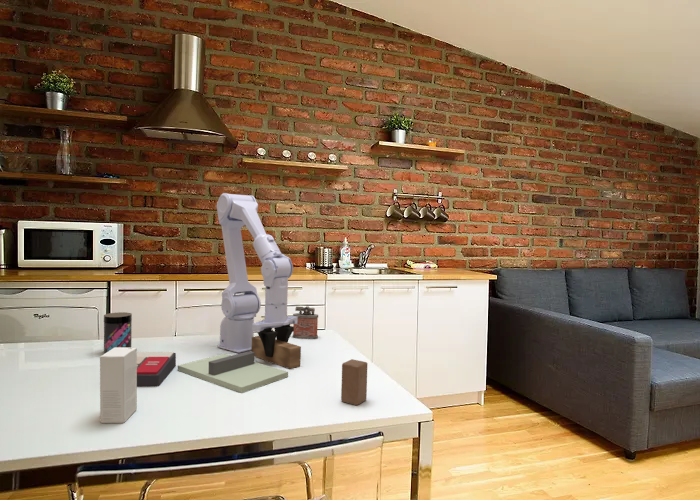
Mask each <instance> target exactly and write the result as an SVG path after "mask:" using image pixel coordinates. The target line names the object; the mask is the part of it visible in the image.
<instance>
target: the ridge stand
mask: <svg viewBox="0 0 700 500" xmlns="http://www.w3.org/2000/svg"><path fill="white" fill-rule="evenodd" d="M255 359H256V357H255V353H254V352H251V350H249V351H245V352H241V353H236V354H233V355H232V354H228V353H221V354H218V355H213V356H211V357H210V356H209V357H206V358H203V359H198V360H195V361H189V362H186V363H182V364H178V365H177V371H178V372H181V373H184V374H187V375H189V376H193V377H195V378H198V379H201V380H203V381H206V382H209V383H213V384H214V385H218V386H220V387H223V388H225V389H229V390H231V391H234V392H236V393H241V394H243V393H246V392H249V391H251V390H255V389H258V388H260V387H263V386H266V385H268V384H271V383H274V382H278V381H280V380H283V379H286V378H289V371H286V370H283V369H280V368H277V367H273V366H269V365H267V364H262V363H259V362H255Z"/></svg>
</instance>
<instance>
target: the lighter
mask: <svg viewBox="0 0 700 500" xmlns="http://www.w3.org/2000/svg"><path fill="white" fill-rule="evenodd" d="M315 309H316V308H315V307H310V306H307V305H306V306H305V307H303V306H296V307H295V312H296V311H297V312H298V313H293V314H292V316H296V317H298V321H297V324H292V325H293V327H294V331H293V332H292V338H293V339H299V340H300V339H301V340H318V337H319V336H318V325H319V324H318V323H319V321H318V319H319V314H318V313H317V314H316V313H315Z"/></svg>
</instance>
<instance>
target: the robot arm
mask: <svg viewBox="0 0 700 500" xmlns="http://www.w3.org/2000/svg"><path fill="white" fill-rule="evenodd" d="M216 211H217V212H216V213H217V218H218V223H219V225H221V232H222V233H221V234H222V239H223V247H224V253H225V262H226V269H227V276H228V281H229V284H228V286H227V287H226V288H225V289H224V290H223V291H222V292H221V307H220V308H221V311H222V314H223V315H224V316H225V317H223V319H222V320H221V322H220V325H219V326H220V327H219V328H220V329H219V331H220V332H219V344H218V345H217V348H219V349H223V350H227V351H230V352H234V353H236V354H240V353H244V352H248V351H251V347H252V337H255V335H254V334H255V333H256V334H258V335H257V336H259V337H260V339H261V341H262V343H263V347H264V351H265V355H266V356H267V357H273V354H274V344H275V339H277V340H280V341H284V342H287V343H289V339H290V337H291V335H293V331H294V327H293V326H292V325H293V324H297V321H298V317H296V316H293V315H290V316H289V315H288V297H289V296H288V295H289V294H288V290H289V289H288V285H289V278H291V277H292V275H293V271H294V265H293V263H292V259H291V257H288V256H286V255H285V254H284V253H282V252H281V250H280V248H279V246H278V244H277V243H276V241H275V238H274V237H273V236H272V235H271V234H268V233H266V230H265V228H264V226H263V223H262V221H261V219H260V216H259V213H258V211H259V203H258V202H257V200H256V198H255V196H254V195H251V194H249V195H248V194H247V195H245V194H234V193H227V192H223V193H222V194H221V195H219V198H218V200H217V203H216ZM244 226H245V227H246V229H247V230H248V232H249V233H250V235H251V236H252V238H253V243H252V246H253V249H254V250H255V253H256V255H257V257H258V259H259V260H260V263H261V264H262V265H261V267H260V273H261V276H262V278H263V286H265V288H264V289H265V294H264V296H265V297H264V298H265V301H264V319H262V320H260V321H258V322H255V317H257V314H258V313H259V312H260V310H261V305H262V303H261V299H260V297H259V294H258V291H257V287H256V286H255V285H253V284H252V283H251V282H249V278H248V272H247V271H248V270H247V265H246V257H245V251H244V244H243V242H244V241H243V237H242V228H243V227H244ZM273 329H274V330H273Z"/></svg>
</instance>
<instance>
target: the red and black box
mask: <svg viewBox="0 0 700 500" xmlns="http://www.w3.org/2000/svg"><path fill="white" fill-rule="evenodd" d="M176 359H177V353H176V352H173V351H137V388H143V387H148V388H149V387H151V388H152V387H153V388H154V387H160V386H161V384H163V382H165V380H166V378H167V377H168V376H169V374H170V373H171V372H172V371H173V370H174V369H175V368H176V367H177V364H176V363H177V360H176Z"/></svg>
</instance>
